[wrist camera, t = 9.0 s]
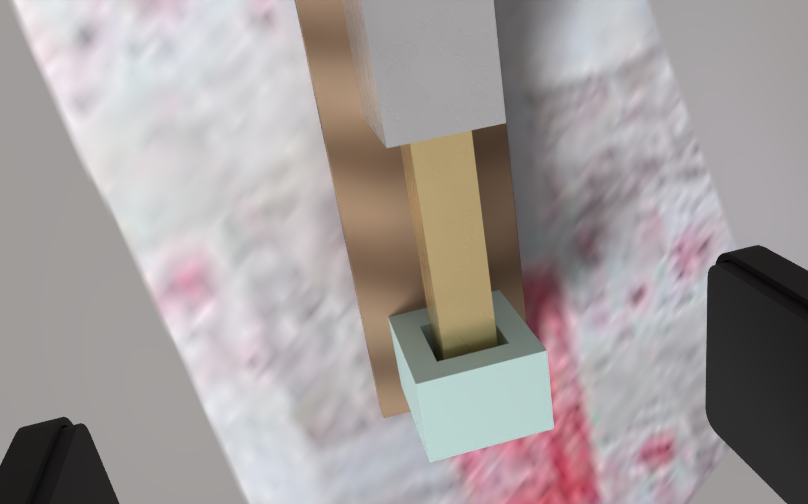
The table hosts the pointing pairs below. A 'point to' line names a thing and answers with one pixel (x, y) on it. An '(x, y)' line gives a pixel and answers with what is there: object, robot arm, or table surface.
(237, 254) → the table surface
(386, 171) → the walnut base board
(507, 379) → the sage socket block
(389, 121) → the steel sleeve
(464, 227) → the brass inner tube
